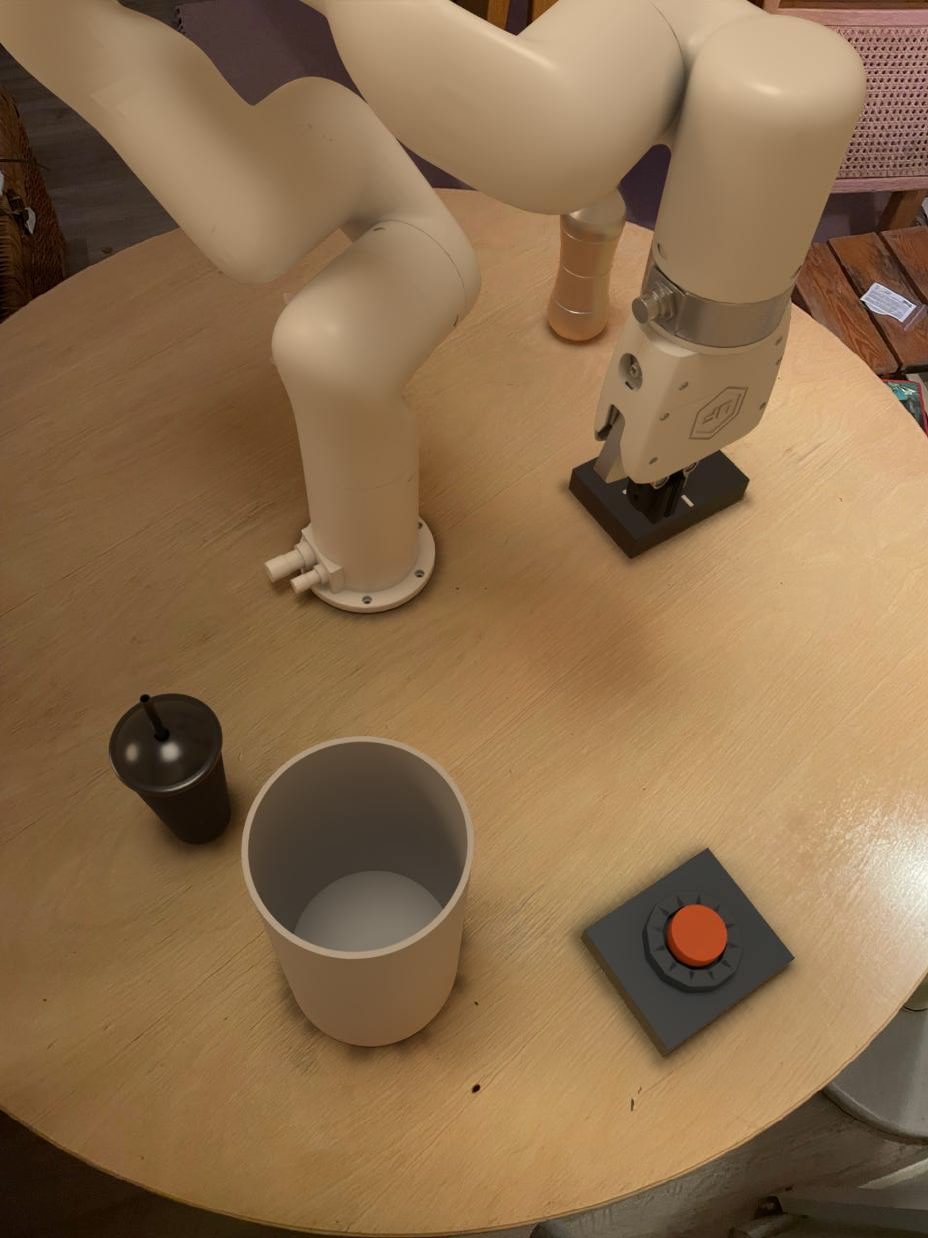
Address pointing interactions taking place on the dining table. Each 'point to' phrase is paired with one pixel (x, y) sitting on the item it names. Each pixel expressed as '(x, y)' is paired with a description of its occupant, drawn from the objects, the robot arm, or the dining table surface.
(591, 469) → the panel
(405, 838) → the cylinder vase
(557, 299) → the plastic bottle
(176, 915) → the dining table surface
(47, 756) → the dining table surface
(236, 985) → the dining table surface
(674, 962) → the switch block
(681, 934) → the button
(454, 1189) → the dining table surface
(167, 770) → the drinking cup
